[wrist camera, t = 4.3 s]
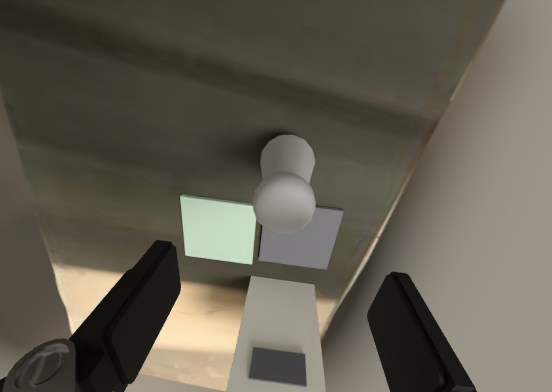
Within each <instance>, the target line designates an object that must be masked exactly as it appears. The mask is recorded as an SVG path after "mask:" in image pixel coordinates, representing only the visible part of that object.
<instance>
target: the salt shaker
mask: <svg viewBox="0 0 552 392" xmlns="http://www.w3.org/2000/svg"><path fill="white" fill-rule="evenodd" d="M314 164H315V158H314V154H313V150H312V149H311V147H310V146H309V145H308V144H307V142H306V141H305V140H304V139H302V138H299V137H297V136H295V135H280V136H278V137H276V138H274V139H272V140H270V141H269V142H268V143H267V145H266V146H265V148H264V149H263V151H262V154H261V161H260V165H261V171H262V177H263V181H262V182H261V183H260V184H259V186H258V187H257V188H256V190H255V192H254V200H253V211H254V213H255V216H256V219H257V221H258V222H259V223H260V224H261V225H262V226H263V227H264V228H266V229H267V230H270V231H272V232H275V233H277V234H291V233H294V232H297V231H299V230H302V229H303V228H304V227H305V226H306V225H307V224H308V223H309V222H310V221H311V220H312V217H313V213H314V210H315V206H316V202H315V198H314V194H313V191H312V188H311V186H310V185H309V181H310V178H311V174H312V171H313V167H314Z"/></svg>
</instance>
